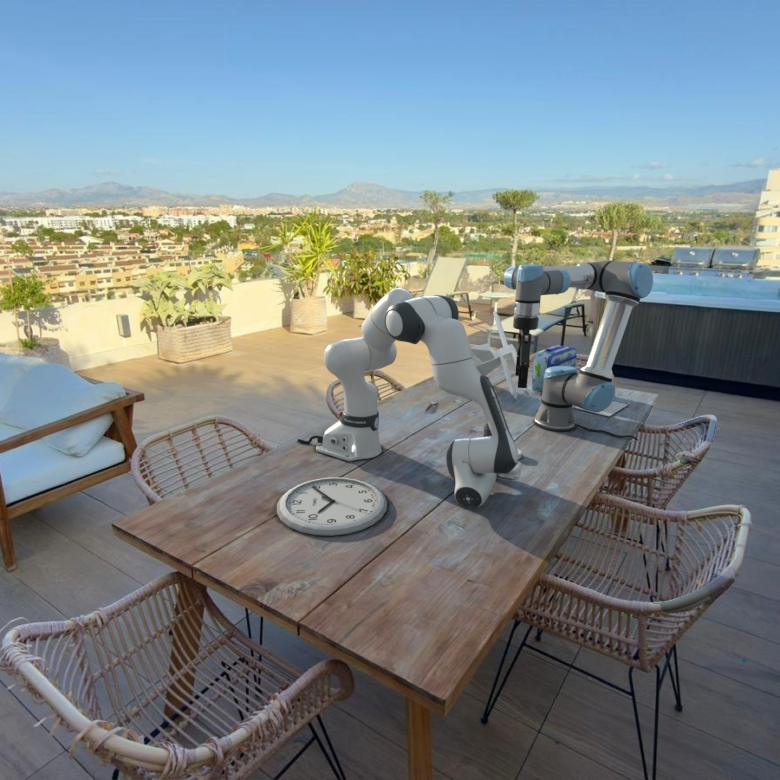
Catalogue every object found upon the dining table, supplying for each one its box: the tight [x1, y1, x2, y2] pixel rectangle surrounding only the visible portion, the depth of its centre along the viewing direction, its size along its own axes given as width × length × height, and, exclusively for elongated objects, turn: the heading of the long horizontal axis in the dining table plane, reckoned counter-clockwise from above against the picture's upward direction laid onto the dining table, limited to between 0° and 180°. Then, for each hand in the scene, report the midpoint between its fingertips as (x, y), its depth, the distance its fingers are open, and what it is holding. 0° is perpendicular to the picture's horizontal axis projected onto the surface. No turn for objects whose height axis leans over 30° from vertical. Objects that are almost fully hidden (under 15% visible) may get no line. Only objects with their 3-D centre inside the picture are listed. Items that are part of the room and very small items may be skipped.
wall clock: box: [276, 476, 388, 537], centre depth 142 cm, size 30×2×30 cm
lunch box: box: [531, 345, 577, 394], centre depth 245 cm, size 26×11×21 cm, turn 134°
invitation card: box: [573, 400, 629, 418], centre depth 226 cm, size 21×1×15 cm
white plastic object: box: [470, 310, 531, 400], centre depth 245 cm, size 37×45×31 cm
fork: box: [425, 396, 439, 412], centre depth 222 cm, size 3×16×2 cm, turn 160°
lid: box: [517, 448, 523, 460], centre depth 176 cm, size 6×6×2 cm
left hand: (491, 455), depth 161 cm, fingers open, 8 cm apart
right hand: (520, 381), depth 168 cm, fingers open, 13 cm apart
